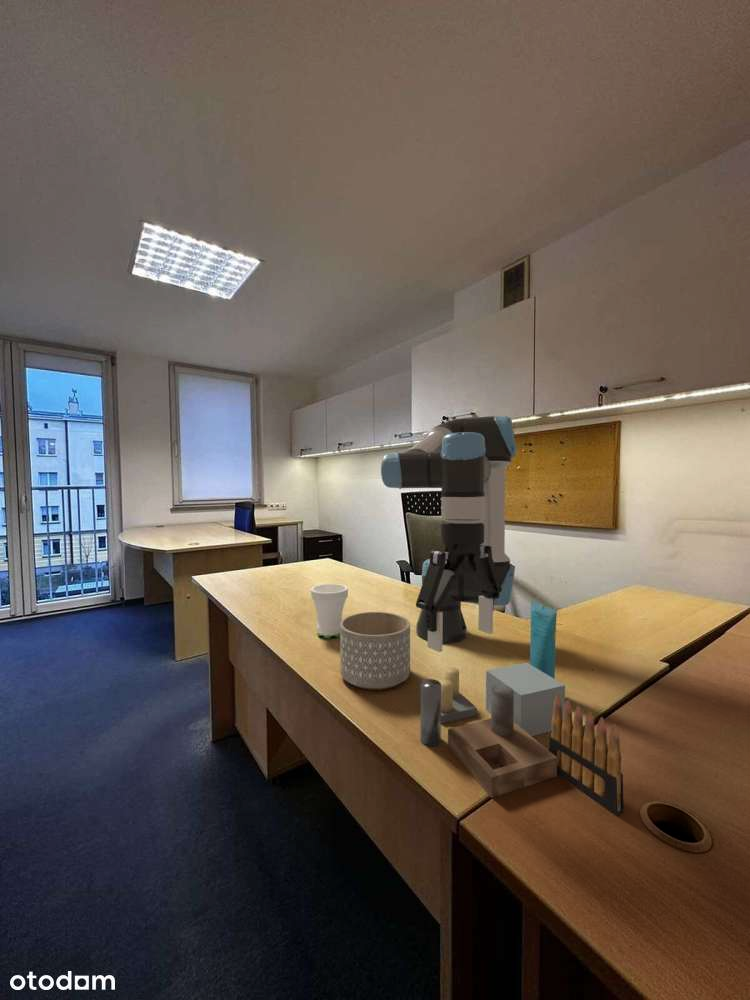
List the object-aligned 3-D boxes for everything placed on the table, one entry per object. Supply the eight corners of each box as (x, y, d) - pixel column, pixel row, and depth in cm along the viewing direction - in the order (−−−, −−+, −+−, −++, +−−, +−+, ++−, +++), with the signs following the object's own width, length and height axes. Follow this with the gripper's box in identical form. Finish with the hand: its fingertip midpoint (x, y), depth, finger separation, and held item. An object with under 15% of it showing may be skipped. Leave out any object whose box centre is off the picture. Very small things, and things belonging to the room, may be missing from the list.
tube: (564, 699, 82) (565, 608, 81) (548, 704, 80) (549, 611, 79) (535, 683, 89) (536, 599, 88) (520, 688, 87) (521, 602, 86)
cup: (328, 625, 126) (328, 581, 126) (355, 633, 120) (355, 586, 119) (303, 636, 117) (302, 589, 117) (330, 645, 110) (330, 595, 110)
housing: (526, 700, 82) (526, 662, 81) (564, 727, 72) (565, 685, 72) (485, 709, 78) (486, 670, 78) (520, 740, 69) (521, 695, 69)
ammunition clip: (547, 767, 62) (548, 692, 62) (555, 763, 63) (556, 690, 63) (616, 816, 53) (618, 729, 52) (624, 811, 54) (625, 725, 53)
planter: (424, 676, 92) (424, 622, 92) (374, 702, 81) (374, 642, 80) (375, 654, 104) (375, 607, 104) (326, 675, 93) (325, 622, 92)
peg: (434, 731, 71) (434, 677, 71) (444, 743, 68) (445, 687, 67) (416, 736, 70) (416, 681, 70) (426, 748, 67) (426, 690, 66)
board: (454, 694, 84) (454, 664, 84) (476, 715, 76) (477, 682, 76) (421, 702, 81) (421, 671, 81) (440, 723, 74) (440, 689, 73)
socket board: (505, 730, 71) (505, 677, 71) (556, 776, 60) (557, 712, 60) (447, 746, 67) (448, 688, 67) (491, 798, 56) (492, 729, 56)
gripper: (488, 517, 80) (487, 620, 80) (395, 523, 65) (394, 650, 65) (521, 519, 74) (520, 630, 74) (427, 526, 59) (426, 666, 59)
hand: (461, 640), depth 70 cm, fingers open, 13 cm apart
